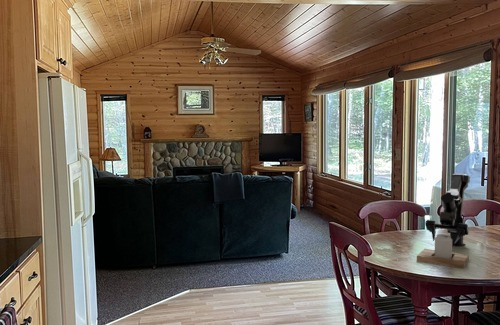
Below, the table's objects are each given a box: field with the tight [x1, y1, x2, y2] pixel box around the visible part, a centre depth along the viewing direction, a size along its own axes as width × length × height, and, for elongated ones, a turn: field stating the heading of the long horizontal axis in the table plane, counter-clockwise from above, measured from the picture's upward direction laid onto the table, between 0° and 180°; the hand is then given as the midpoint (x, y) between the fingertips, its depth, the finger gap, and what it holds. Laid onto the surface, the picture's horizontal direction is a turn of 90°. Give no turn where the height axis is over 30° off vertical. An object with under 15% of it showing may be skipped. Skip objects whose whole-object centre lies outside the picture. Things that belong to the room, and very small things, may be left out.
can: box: [434, 233, 453, 259], centre depth 199 cm, size 8×8×12 cm
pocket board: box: [416, 248, 470, 269], centre depth 199 cm, size 14×20×2 cm
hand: (443, 241), depth 200 cm, fingers open, 9 cm apart
